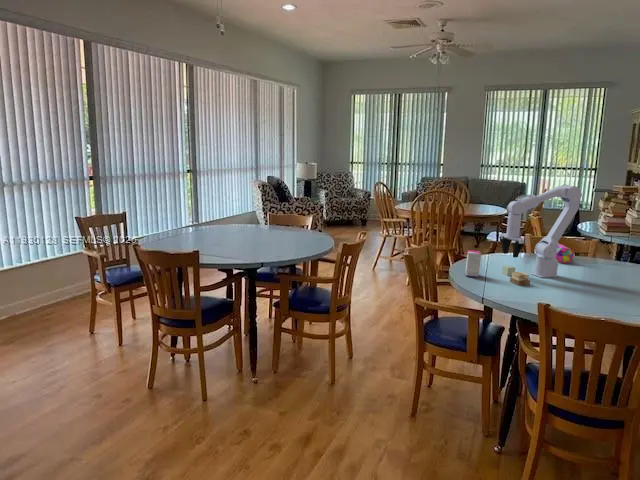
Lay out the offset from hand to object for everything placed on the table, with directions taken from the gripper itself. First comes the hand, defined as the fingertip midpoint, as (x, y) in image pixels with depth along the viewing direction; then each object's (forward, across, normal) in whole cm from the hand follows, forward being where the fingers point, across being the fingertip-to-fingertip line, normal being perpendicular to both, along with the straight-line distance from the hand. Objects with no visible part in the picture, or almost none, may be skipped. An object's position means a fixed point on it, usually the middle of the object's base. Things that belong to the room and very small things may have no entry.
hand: (510, 255), depth 233 cm
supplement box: (+10, -1, -19) cm, 21 cm away
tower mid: (+7, +14, -4) cm, 16 cm away
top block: (+10, 0, 0) cm, 10 cm away
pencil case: (+10, -24, +48) cm, 55 cm away
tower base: (+10, +14, -4) cm, 18 cm away
